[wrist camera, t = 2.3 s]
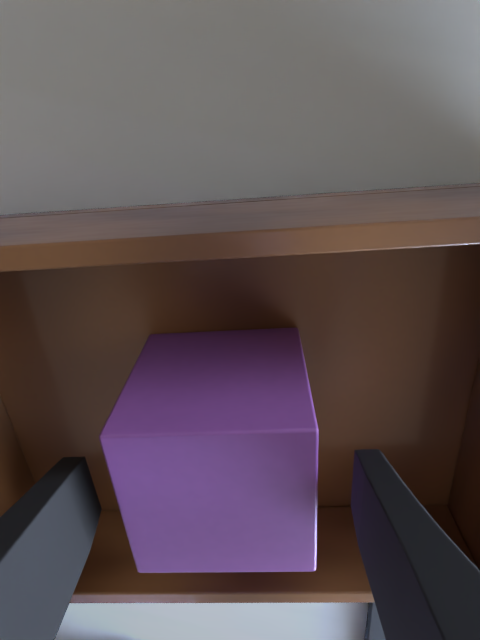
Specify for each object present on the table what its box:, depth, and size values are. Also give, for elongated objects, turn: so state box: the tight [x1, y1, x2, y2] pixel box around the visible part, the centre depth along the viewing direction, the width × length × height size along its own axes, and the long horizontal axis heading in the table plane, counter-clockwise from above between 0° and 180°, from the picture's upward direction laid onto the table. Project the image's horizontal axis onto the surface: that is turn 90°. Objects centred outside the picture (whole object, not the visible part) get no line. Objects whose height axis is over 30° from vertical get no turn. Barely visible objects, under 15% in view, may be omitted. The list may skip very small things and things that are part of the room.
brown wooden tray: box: [0, 183, 480, 603], centre depth 13 cm, size 18×13×4 cm
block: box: [99, 328, 319, 573], centre depth 12 cm, size 5×5×5 cm
